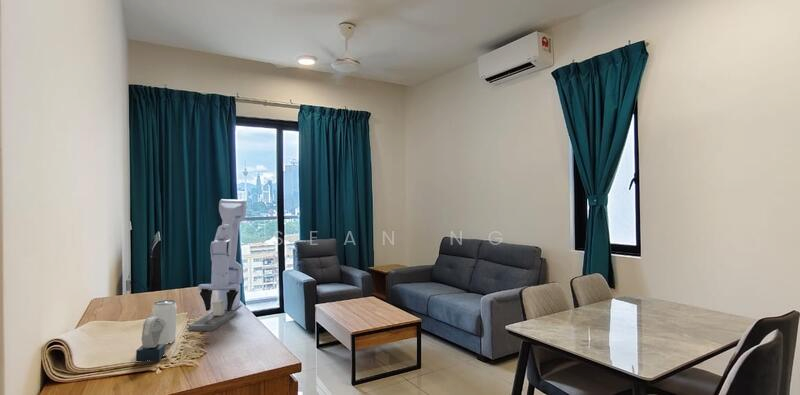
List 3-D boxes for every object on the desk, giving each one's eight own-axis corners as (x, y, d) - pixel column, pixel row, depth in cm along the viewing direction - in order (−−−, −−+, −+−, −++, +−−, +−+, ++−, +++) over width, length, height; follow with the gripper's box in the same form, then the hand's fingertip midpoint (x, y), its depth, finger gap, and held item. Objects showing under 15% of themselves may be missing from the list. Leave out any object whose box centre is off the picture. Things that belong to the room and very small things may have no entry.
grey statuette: (167, 352, 115) (168, 313, 115) (156, 363, 107) (158, 321, 107) (144, 353, 113) (146, 313, 114) (132, 364, 106) (134, 322, 106)
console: (212, 315, 153) (213, 311, 153) (234, 316, 153) (234, 312, 153) (188, 330, 135) (188, 325, 135) (212, 330, 135) (212, 326, 135)
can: (180, 339, 126) (181, 300, 126) (166, 346, 120) (167, 305, 120) (160, 338, 127) (162, 299, 127) (145, 345, 120) (147, 304, 120)
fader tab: (216, 312, 151) (217, 299, 151) (225, 313, 151) (225, 299, 151) (211, 315, 147) (212, 301, 147) (220, 315, 147) (220, 301, 147)
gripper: (194, 274, 145) (193, 312, 145) (235, 275, 145) (234, 313, 145) (204, 271, 152) (202, 307, 152) (243, 272, 152) (241, 308, 152)
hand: (218, 310), depth 149 cm, fingers open, 7 cm apart
